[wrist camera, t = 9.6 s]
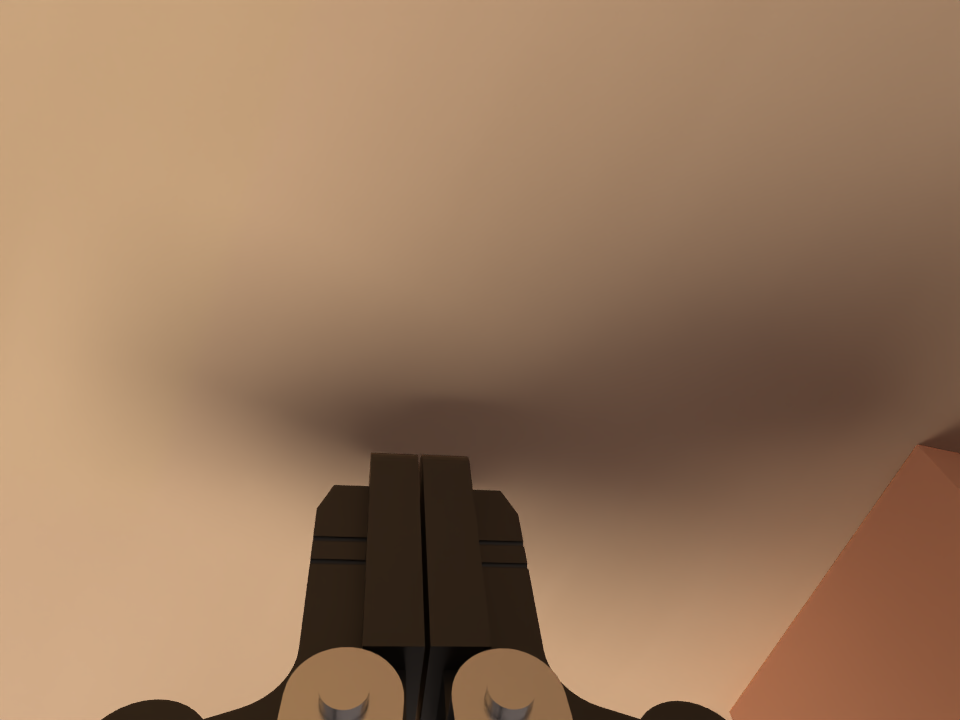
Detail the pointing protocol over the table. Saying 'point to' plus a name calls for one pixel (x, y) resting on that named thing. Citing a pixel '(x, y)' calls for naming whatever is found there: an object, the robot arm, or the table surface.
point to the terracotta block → (878, 614)
